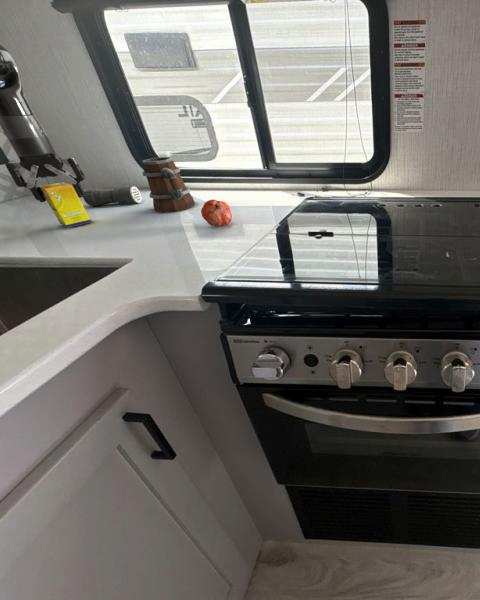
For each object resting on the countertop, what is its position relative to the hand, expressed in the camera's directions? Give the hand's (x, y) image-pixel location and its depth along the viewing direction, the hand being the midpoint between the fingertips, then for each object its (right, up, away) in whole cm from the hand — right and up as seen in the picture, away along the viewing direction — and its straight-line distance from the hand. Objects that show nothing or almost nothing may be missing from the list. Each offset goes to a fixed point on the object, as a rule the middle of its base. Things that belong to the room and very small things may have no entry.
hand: (62, 199), depth 93 cm
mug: (+22, +2, +16) cm, 27 cm away
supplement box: (0, -6, +4) cm, 7 cm away
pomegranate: (+44, -7, +1) cm, 45 cm away
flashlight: (-3, +5, +22) cm, 22 cm away
